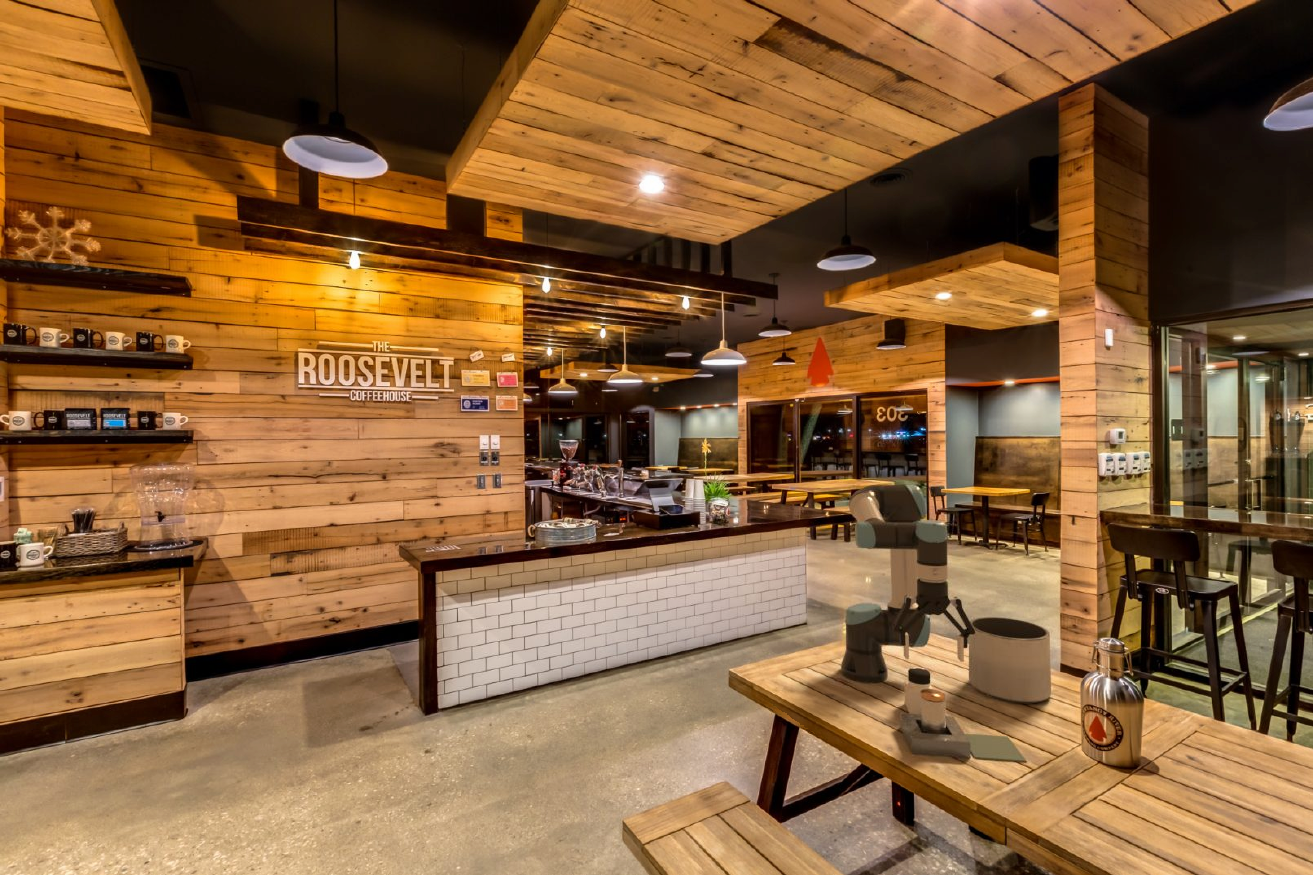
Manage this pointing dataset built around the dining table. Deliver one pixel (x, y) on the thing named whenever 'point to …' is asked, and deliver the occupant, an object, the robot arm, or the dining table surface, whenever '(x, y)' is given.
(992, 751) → the mat
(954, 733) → the housing
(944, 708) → the glass jar
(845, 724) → the dining table surface
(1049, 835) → the dining table surface
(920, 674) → the medicine bottle
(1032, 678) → the planter
